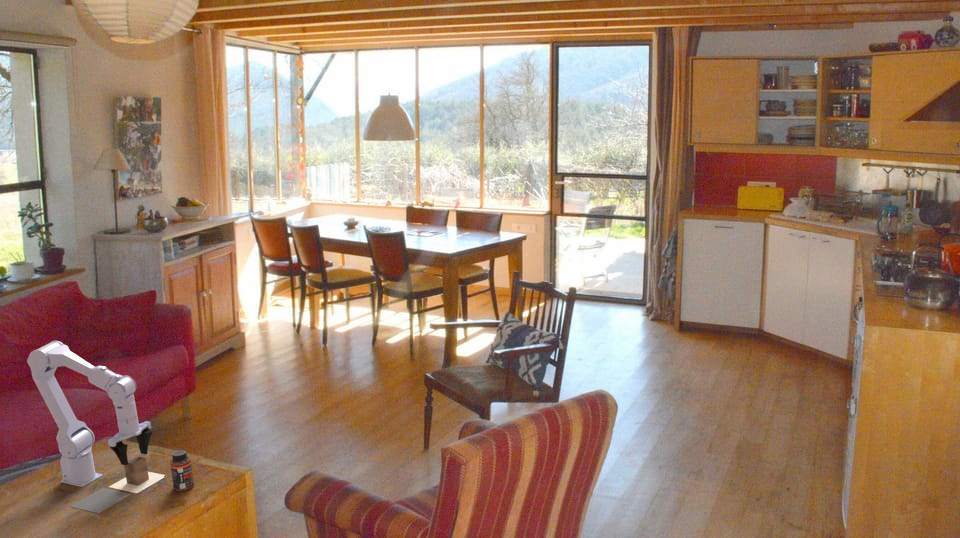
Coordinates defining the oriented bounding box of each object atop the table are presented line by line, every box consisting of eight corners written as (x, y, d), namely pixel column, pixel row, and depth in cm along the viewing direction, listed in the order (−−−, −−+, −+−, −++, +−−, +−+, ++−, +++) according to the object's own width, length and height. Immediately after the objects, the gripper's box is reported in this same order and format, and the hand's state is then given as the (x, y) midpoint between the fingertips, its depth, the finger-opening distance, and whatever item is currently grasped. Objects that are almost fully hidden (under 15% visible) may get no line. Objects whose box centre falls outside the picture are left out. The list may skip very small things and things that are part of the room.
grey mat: (69, 507, 257) (69, 506, 257) (103, 488, 267) (103, 487, 267) (98, 514, 251) (98, 513, 251) (131, 494, 262) (131, 494, 262)
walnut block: (127, 483, 269) (123, 462, 267) (138, 476, 273) (134, 455, 271) (137, 485, 267) (133, 464, 265) (149, 478, 271) (145, 457, 269)
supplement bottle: (188, 492, 261) (182, 457, 258) (170, 492, 262) (164, 457, 259) (198, 483, 266) (193, 448, 264) (180, 482, 268) (175, 448, 265)
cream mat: (108, 487, 268) (108, 486, 268) (139, 470, 278) (139, 469, 278) (136, 493, 262) (136, 493, 262) (167, 476, 273) (167, 475, 272)
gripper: (117, 428, 257) (124, 471, 260) (155, 409, 270) (162, 450, 273) (100, 425, 260) (108, 467, 263) (138, 407, 273) (145, 447, 276)
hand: (134, 459), depth 268 cm, fingers open, 7 cm apart
